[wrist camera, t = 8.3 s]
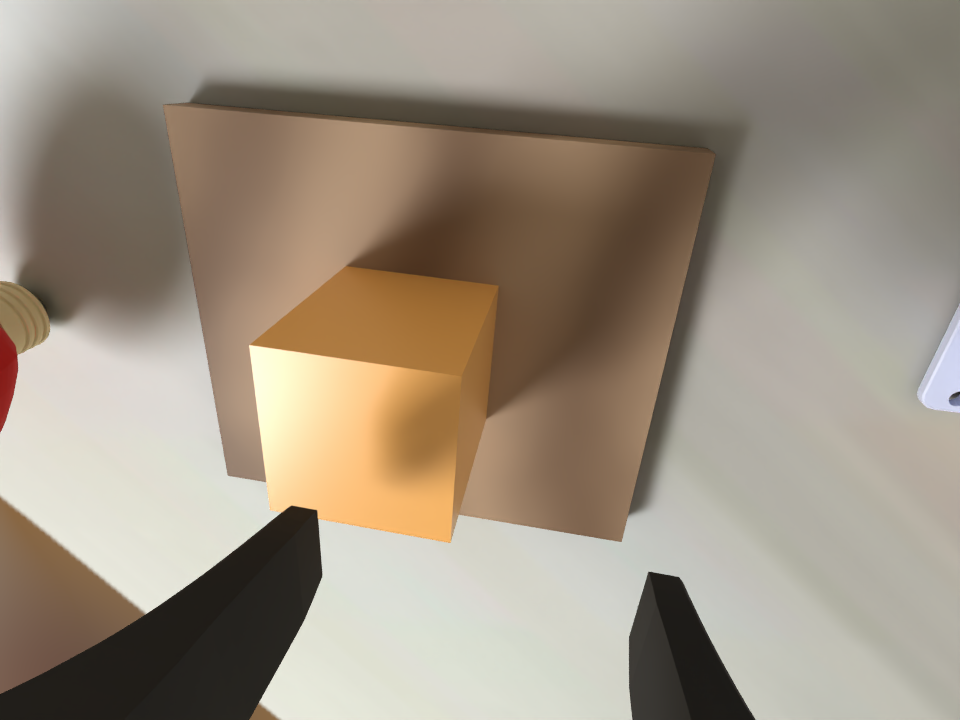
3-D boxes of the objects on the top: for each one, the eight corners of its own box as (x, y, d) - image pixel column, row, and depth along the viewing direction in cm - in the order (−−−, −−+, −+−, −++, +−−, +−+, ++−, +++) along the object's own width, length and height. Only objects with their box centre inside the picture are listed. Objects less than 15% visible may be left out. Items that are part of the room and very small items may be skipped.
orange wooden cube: (498, 285, 18) (461, 376, 13) (486, 419, 20) (450, 543, 15) (345, 266, 18) (249, 344, 13) (350, 398, 21) (269, 510, 16)
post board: (707, 148, 16) (760, 183, 11) (619, 519, 23) (628, 647, 18) (187, 102, 18) (34, 116, 13) (243, 458, 25) (155, 557, 20)
